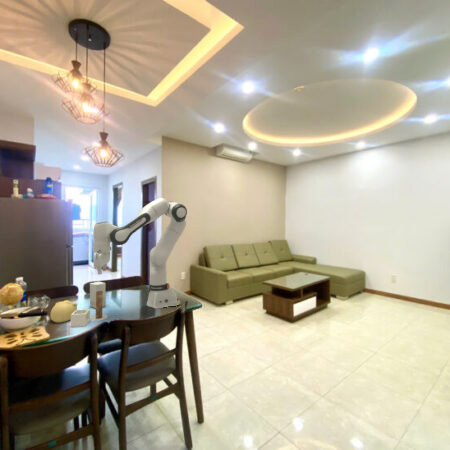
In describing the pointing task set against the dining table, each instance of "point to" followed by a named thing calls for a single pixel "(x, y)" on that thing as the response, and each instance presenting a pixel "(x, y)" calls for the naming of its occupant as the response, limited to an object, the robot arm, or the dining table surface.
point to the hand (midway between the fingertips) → (102, 272)
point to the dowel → (99, 304)
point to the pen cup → (80, 318)
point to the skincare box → (93, 289)
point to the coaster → (98, 319)
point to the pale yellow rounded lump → (63, 311)
